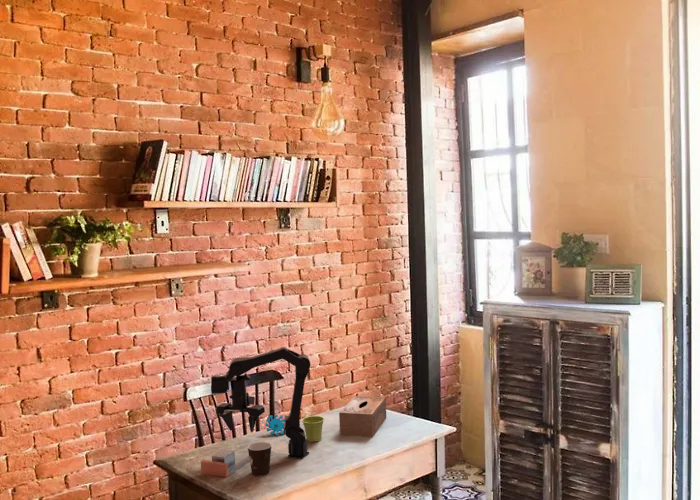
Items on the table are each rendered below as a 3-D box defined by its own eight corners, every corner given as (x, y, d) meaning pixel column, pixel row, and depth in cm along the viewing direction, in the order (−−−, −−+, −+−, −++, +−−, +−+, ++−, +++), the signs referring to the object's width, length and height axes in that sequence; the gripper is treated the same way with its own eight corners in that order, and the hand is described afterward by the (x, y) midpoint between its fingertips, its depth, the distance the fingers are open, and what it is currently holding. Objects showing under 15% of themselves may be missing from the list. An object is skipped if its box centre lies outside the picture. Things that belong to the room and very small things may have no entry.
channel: (251, 459, 255) (251, 448, 255) (226, 476, 239) (225, 464, 238) (227, 456, 259) (227, 445, 259) (201, 473, 243) (200, 461, 243)
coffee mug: (249, 469, 246) (248, 442, 245) (272, 467, 246) (271, 441, 246) (247, 481, 234) (246, 454, 233) (271, 479, 235) (270, 452, 234)
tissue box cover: (356, 417, 304) (355, 395, 304) (386, 418, 300) (385, 397, 300) (340, 435, 279) (339, 412, 279) (373, 437, 276) (372, 414, 275)
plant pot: (298, 442, 272) (297, 421, 272) (308, 435, 281) (307, 415, 281) (319, 444, 269) (318, 423, 268) (328, 437, 278) (327, 416, 277)
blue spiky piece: (265, 434, 279) (265, 413, 286) (263, 440, 283) (263, 419, 290) (291, 434, 282) (290, 413, 289) (288, 441, 286) (287, 420, 293)
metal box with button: (236, 465, 250) (235, 450, 249) (224, 473, 243) (224, 457, 242) (223, 464, 252) (223, 448, 251) (212, 471, 245) (211, 455, 244)
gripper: (270, 387, 258) (272, 426, 258) (228, 385, 264) (231, 423, 265) (256, 395, 247) (258, 435, 248) (213, 392, 254) (216, 432, 255)
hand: (241, 431), depth 254 cm, fingers open, 9 cm apart
